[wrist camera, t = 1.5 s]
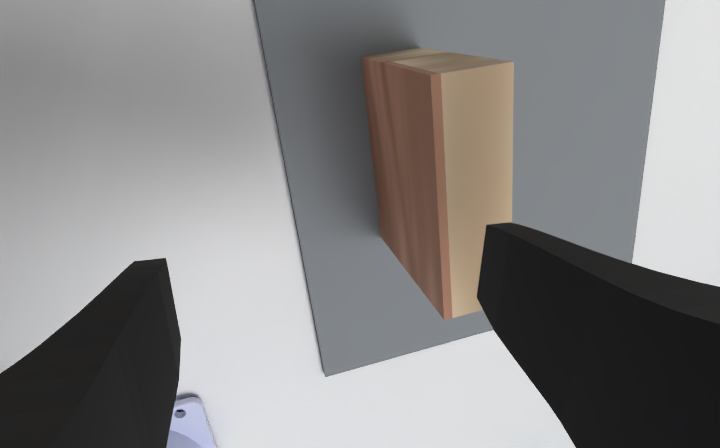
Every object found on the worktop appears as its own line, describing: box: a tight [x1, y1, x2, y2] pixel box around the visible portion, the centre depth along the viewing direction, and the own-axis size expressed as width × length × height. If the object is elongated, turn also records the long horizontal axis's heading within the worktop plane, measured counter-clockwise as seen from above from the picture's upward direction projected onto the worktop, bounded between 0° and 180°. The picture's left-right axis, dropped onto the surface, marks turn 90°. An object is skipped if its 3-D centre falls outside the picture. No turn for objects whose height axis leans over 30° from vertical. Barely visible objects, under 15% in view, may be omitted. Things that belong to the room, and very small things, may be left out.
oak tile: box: [361, 48, 514, 320], centre depth 18 cm, size 2×8×7 cm, turn 7°
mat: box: [254, 0, 665, 377], centre depth 23 cm, size 18×18×1 cm
